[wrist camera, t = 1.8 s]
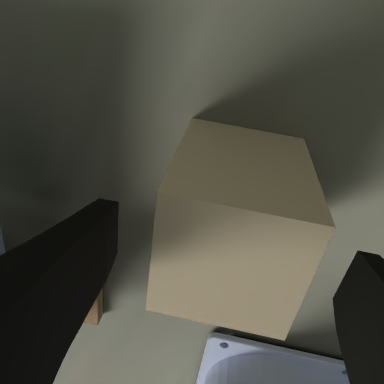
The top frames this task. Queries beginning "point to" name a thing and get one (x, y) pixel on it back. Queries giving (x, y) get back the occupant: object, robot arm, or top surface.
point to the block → (237, 229)
